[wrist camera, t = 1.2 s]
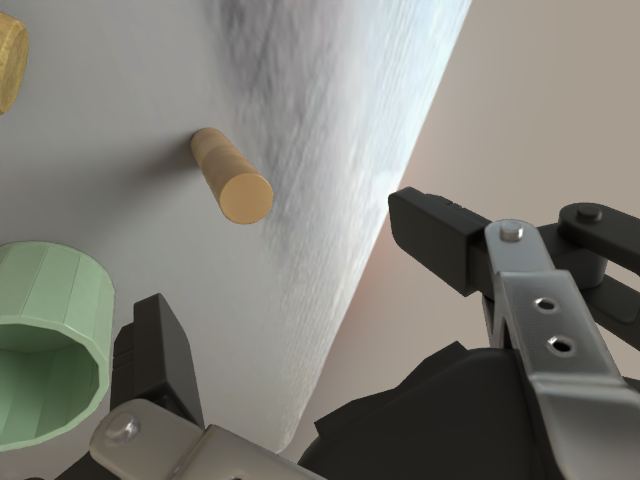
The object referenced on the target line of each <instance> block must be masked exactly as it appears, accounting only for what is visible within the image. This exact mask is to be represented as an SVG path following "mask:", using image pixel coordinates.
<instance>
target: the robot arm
mask: <svg viewBox="0 0 640 480" xmlns="http://www.w3.org/2000/svg"><path fill="white" fill-rule="evenodd" d="M388 205H389V213H390V221H391V229H392V234H393V237H394V240H395V241H396V243H397V244H398V246H399V247H400V248H401V249H403V250H404V251H405V252H407V253H408V254H409V255H411V256H412V257H413V258H415V259H416V260H417V261H418V262H420V263H421V264H422V265H424V266H425V267H426V268H428V269H429V270H430V271H432V272H433V273H434V274H436V275H437V276H438V277H439V278H441V279H442V280H443V281H444V282H446V283H447V284H448V285H450V286H451V287H452V288H454V289H455V290H456V291H458V292H459V293H460V294H462V295H463V296H464V297H467V296H469V295H470V294H472V293H474V292H476V291H480V292H481V293H482V305H483V310H484V315H485V321H486V326H487V331H488V337H489V342H490V347H489V348H477V349H471V350H467V349H466V348H464V346H462V345H461V344H460V343H459V342H458V341H455V342H454V343H452V344H450V345H448V346H447V347H445V348H443V349H441V350H440V351H438V352H436V353H434V354H433V355H431V356H429V357H427V358H426V359H424V360H423V361H422V362H421V363H420V364H419V365H418V366H417V367H416V368H415V369H414V370H413V371H412V372H411V373H410V374H409V375H408V376H407V378H406V379H405V380H403V381H402V383H401V384H400V385H398V386H397V387H396V388H394V389H391V390H387V391H384V392H380V393H377V394H374V395H370V396H367V397H363V398H360V399H356V400H353V401H351V402H349V403H347V404H345V405H344V406H342V407H340V408H338V409H337V410H335V411H333V412H331V413H330V414H328V415H326V416H324V417H323V418H321V419H319V420H318V421H316V422H314V424H315V427H316V429H317V432H318V434H319V436H318V437H317V438H316V439H315V440H314V441H313V442H312V443H311V445H310V446H309V447H308V448H307V449H306V451H305V452H304V453H303V455H302V457H301V458H300V460H299V461H298V463H297V464H295V463H293V462H291V461H289V460H287V459H285V458H283V457H281V456H279V455H277V454H275V453H273V452H271V451H269V450H267V449H265V448H262V447H260V446H258V445H256V444H254V443H252V442H250V441H248V440H246V439H244V438H242V437H240V436H238V435H236V434H234V433H232V432H230V431H228V430H226V429H224V428H222V427H220V426H217V425H213V424H210V425H209V426H208V427H207V429H205V426H204V420H203V415H202V409H201V404H200V399H199V393H198V388H197V382H196V377H195V372H194V366H193V361H192V356H191V350H190V345H189V342H188V339H187V336H186V334H185V332H184V330H183V328H182V326H181V325H180V323H179V321H178V320H177V318H176V316H175V315H174V313H173V312H172V310H171V308H170V307H169V305H168V303H167V302H166V300H165V298H164V297H163V295H162V294H161V293H157V294H155V295H153V296H150V297H148V298H146V299H143V300H141V301H139V302H136V303H135V304H134V322H133V323H130V324H128V325H126V326H124V327H122V329H121V330H120V332H119V334H118V336H117V338H116V340H115V342H114V352H113V357H114V359H113V371H112V383H111V399H110V413H109V414H108V415H107V416H105V417H104V419H103V420H102V421H101V422H100V423H99V425H98V426H97V428H96V429H95V431H94V433H93V435H92V438H91V441H90V448H89V449H90V450H89V451H88V452H87V453H86V454H85V455H84V456H83V457H82V458H81V459H80V460H78V461H77V462H76V463H75V464H73V465H72V466H71V467H69V468H68V469H67V470H66V471H64V472H63V473H62V474H61V475H59V476H58V477H57V478H56V479H54V480H640V380H636V379H631V378H628V377H624V376H621V374H620V372H619V370H618V368H617V366H616V364H615V362H614V360H613V358H612V356H611V354H610V352H609V350H608V348H607V346H606V344H605V342H604V340H603V338H602V336H601V334H600V332H599V330H598V328H597V326H596V324H595V322H596V323H598V324H599V325H601V326H602V327H604V328H605V329H607V330H608V331H610V332H611V333H613V334H614V335H616V336H617V337H619V338H620V339H622V340H623V341H625V342H626V343H628V344H629V345H631V346H632V347H634V348H636V349H637V350H639V351H640V293H639V292H638V291H636V290H634V289H632V288H630V287H628V286H626V285H625V284H623V283H621V282H619V281H617V280H615V279H613V278H612V277H610V276H608V275H606V274H604V273H605V269H606V266H607V262H608V260H610V261H612V262H614V263H616V264H618V265H620V266H622V267H624V268H626V269H628V270H630V271H632V272H634V273H636V274H637V275H638V276H639V277H640V219H638V218H636V217H633V216H631V215H628V214H625V213H623V212H620V211H618V210H615V209H612V208H610V207H607V206H604V205H600V204H596V203H574V204H570V205H567V206H565V207H564V208H562V209H561V211H560V214H559V219H558V223H554V224H549V225H545V226H540V227H535V226H533V225H532V224H530V223H528V222H525V221H522V220H516V219H503V220H498V221H495V222H492V221H490V220H487V219H486V218H484V217H482V216H480V215H478V214H476V213H474V212H472V211H470V210H468V209H466V208H462V207H461V206H460V205H458V204H456V203H454V204H453V202H452V201H450V200H448V199H445V198H444V197H442V196H437V195H432V194H424V193H422V192H420V191H418V190H416V189H414V188H412V187H406V188H404V189H401V190H399V191H397V192H394V193H392V194H390V195H389V197H388ZM594 321H595V322H594ZM25 480H44V479H41V478H36V477H34V478H28V479H25Z"/></svg>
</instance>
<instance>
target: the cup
mask: <svg viewBox="0 0 640 480" xmlns="http://www.w3.org/2000/svg"><path fill="white" fill-rule="evenodd" d="M114 314H115V291H114V287H113V283H112V281H111V279H110V277H109V275H108V274H107V272H106V271H105V270H104V269H103V268H102V266H101V265H100V264H98V263H97V262H96V261H95V260H94V259H92V258H91V257H89V256H88V255H86V254H84V253H82V252H80V251H78V250H76V249H73V248H71V247H68V246H64V245H60V244H56V243H50V242H40V241H25V242H16V243H9V244H5V245H1V246H0V452H3V451H8V450H13V449H18V448H23V447H28V446H33V445H36V444H40V443H42V442H44V441H47V440H49V439H51V438H54V437H56V436H58V435H60V434H63V433H65V432H67V431H70V430H71V429H73V428H74V427H75V426H76V425H78V424H79V423H80V422H81V421H83V420H84V419H85V418H86V417H88V416H89V415H90V414H91V413H93V412H94V411H95V410H96V409H97V407H98V405H99V403H100V402H101V400H102V398H103V396H104V395H105V393H106V391H107V389H108V388H109V380H110V367H111V354H112V341H113V327H114Z"/></svg>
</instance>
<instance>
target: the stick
mask: <svg viewBox="0 0 640 480" xmlns="http://www.w3.org/2000/svg"><path fill="white" fill-rule="evenodd" d="M191 151H192V153H193V155H194V157H195V159H196V161H197V163H198V165H199V167H200V169H201V171H202V173H203V175H204V177H205V179H206V181H207V183H208V185H209V187H210V189H211V191H212V193H213V195H214V197H215V199H216V201H217V203H218V205H219V207H220V209H221V211H222V213H223V214H224V215H225V217H227V218H228V219H229V220H230V221H232V222H234V223H237V224H251V223H255V222H257V221H259V220H261V219H262V218H263V217H264V216H265V215H266V214H267V213H268V212H269V210H270V208H271V206H272V202H273V191H272V188H271V186H270V184H269V183H268V182H267V180H266V179H265V178H264V177H263V176H262V175H261V174H260V173H259V172H258V171H257V170H256V169H255V168H254V167H253V166H252V164H251V163H250V162H249V161H248V160H247V159H246V158H245V157H244V156H243V155H242V154H241V153H240V152H239V151H238V149H237V148H236V147H235V146H234V145H233V144H232V143H231V142H230V141H229V140H228V139H227V138H226V137H225V136H224V135H223V133H221V132H220V131H219V130H217V129H214V128H204V129H201V130H199V131H198V132H197V133H195V135H194V136H193V138H192V140H191Z"/></svg>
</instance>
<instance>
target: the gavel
mask: <svg viewBox="0 0 640 480" xmlns="http://www.w3.org/2000/svg"><path fill="white" fill-rule="evenodd" d="M28 46H29V39H28V33H27V30H26V28H25V26H24V23H23V22H22V21H20V20H18V19H15V18H13V17H11V16H9V15H6V14H4V13H2V12H0V115H2V114H3V113H5V112H7V111H8V110H9V109H10V108H11V106H12V105H13V103H14V101H15V99H16V97H17V94H18V92H19V89H20V86H21V83H22V80H23V76H24V72H25V67H26V62H27V56H28Z"/></svg>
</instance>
